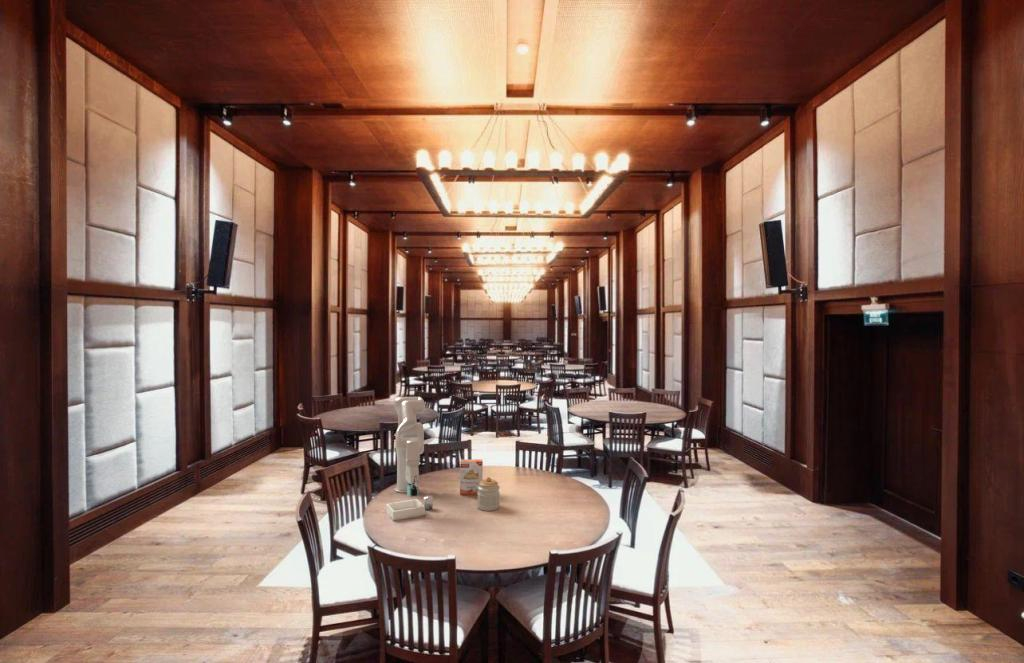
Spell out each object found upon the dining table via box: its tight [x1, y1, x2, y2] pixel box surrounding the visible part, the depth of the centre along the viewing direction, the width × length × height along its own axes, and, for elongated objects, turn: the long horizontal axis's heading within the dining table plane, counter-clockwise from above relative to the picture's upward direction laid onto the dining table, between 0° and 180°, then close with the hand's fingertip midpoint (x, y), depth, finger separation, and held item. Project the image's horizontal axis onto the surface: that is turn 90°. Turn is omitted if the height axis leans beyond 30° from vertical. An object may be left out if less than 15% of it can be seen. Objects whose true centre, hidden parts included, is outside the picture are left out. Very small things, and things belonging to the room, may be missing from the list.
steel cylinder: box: [423, 495, 434, 512], centre depth 305 cm, size 5×5×7 cm
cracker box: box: [459, 458, 484, 496], centre depth 333 cm, size 14×6×21 cm, turn 96°
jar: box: [476, 476, 501, 512], centre depth 309 cm, size 13×13×18 cm
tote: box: [385, 498, 426, 522], centre depth 297 cm, size 14×18×5 cm
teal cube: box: [406, 484, 419, 498], centre depth 298 cm, size 5×5×5 cm
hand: (412, 494), depth 298 cm, fingers closed on teal cube, 4 cm apart
